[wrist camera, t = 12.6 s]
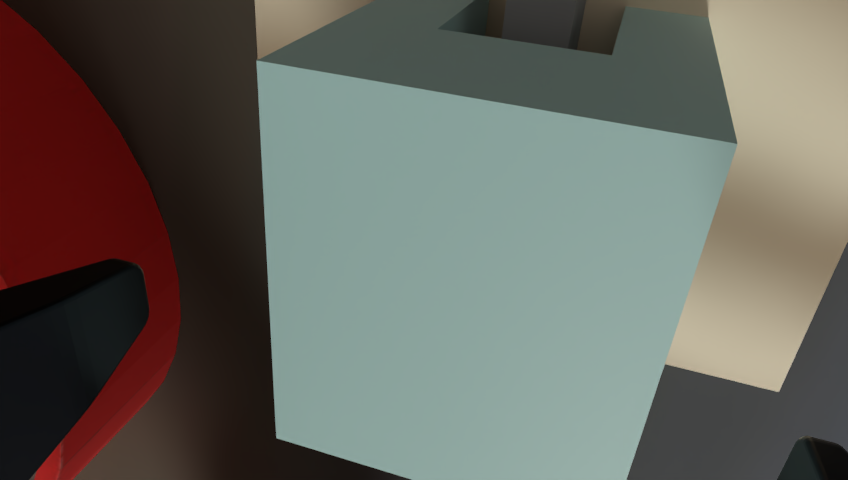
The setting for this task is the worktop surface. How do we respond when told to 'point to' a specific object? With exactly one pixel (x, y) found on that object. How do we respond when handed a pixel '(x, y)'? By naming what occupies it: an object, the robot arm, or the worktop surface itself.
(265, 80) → the block
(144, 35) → the worktop surface
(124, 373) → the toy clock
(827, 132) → the cleat board
